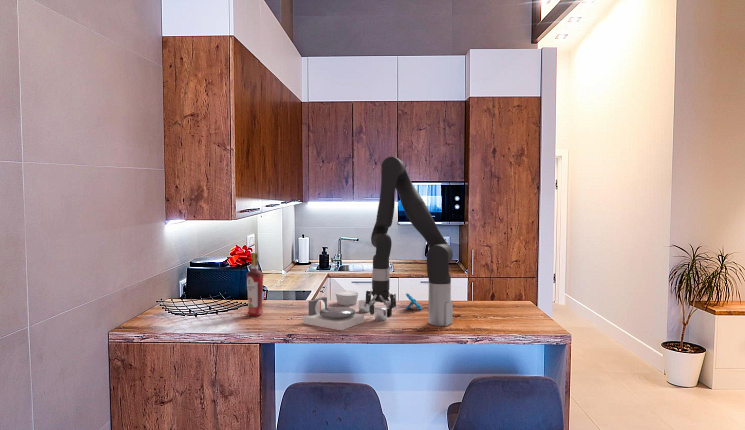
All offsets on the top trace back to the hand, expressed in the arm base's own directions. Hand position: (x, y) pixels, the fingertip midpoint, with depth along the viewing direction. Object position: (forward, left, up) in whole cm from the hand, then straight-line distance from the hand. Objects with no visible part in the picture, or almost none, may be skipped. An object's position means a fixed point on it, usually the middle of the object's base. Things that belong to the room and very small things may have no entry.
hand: (380, 315), depth 224 cm
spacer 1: (+14, -8, -2) cm, 16 cm away
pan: (+12, +15, +3) cm, 19 cm away
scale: (+14, +15, -2) cm, 21 cm away
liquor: (+51, +24, -2) cm, 56 cm away
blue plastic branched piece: (-3, -25, -2) cm, 25 cm away
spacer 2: (0, 0, -2) cm, 2 cm away
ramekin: (+31, -18, -2) cm, 35 cm away
